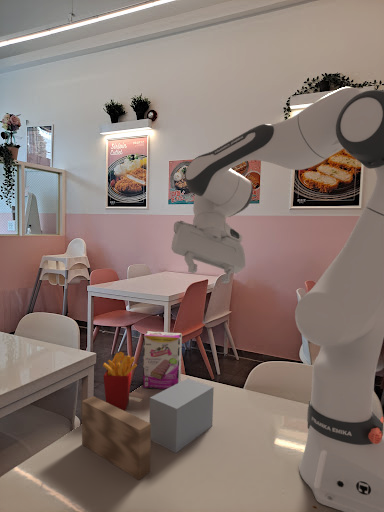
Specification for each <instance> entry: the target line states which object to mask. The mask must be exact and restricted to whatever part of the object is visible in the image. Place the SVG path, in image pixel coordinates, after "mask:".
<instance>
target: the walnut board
mask: <svg viewBox="0 0 384 512" xmlns="http://www.w3.org/2000/svg"><path fill="white" fill-rule="evenodd" d="M81 417H82V418H81V441H82V442H81V443H82V445H83V446H84V447H85V448H87V449H89V450H90V451H91V452H93V453H95V454H97V455H99V456H100V457H101V458H103V459H105V460H106V461H108V462H109V463H111V464H112V465H114V466H116V467H118V468H119V469H121V470H122V471H124V472H125V473H127V474H128V475H130V476H132V477H134V478H135V479H137V480H138V481H140V480H141V479H142V478H144V477H145V476H147V475H148V474H149V473H151V443H152V442H151V441H152V440H151V423H150V422H148V421H146V420H144V419H142V418H140V417H139V416H138V417H137V416H136V415H134V414H132V413H129V412H128V411H126V410H125V411H123V410H121V409H119V408H117V407H115V406H113V405H111V404H109V403H107V402H106V400H102V399H100V398H98V397H97V396H94V395H92V396H91V397H88V398H86V399H83V400H81Z"/></svg>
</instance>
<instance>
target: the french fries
mask: <svg viewBox="0 0 384 512" xmlns="http://www.w3.org/2000/svg"><path fill="white" fill-rule="evenodd" d="M135 360H136V358H135V357H134V356H131V355H125V353H124V352H123V351H119V352H116V353H115V355H114V357H113V359H112V360H110V359H108V360H107V362H108V363H106V362H103V365H102V367H103V368H104V369H106V371H105V372H104V374H103V383H104V384H103V387H104V395H105V397H104V398H105V402H107V403H109V404H111V405H113V406H115V407H117V408H119V409H121V410H123V411H126V410H127V408H128V406H129V401H130V400H129V399H130V392H131V382H132V371H133V370H134V369H135V368H136V367H137V366H138V365H137V364H136V363H134V362H135Z"/></svg>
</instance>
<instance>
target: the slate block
mask: <svg viewBox="0 0 384 512" xmlns="http://www.w3.org/2000/svg"><path fill="white" fill-rule="evenodd" d="M214 389H215V388H214V386H211V385H208V384H205V383H203V382H200V381H197V380H194V379H191V378H185V379H184V380H181V381H180V382H179V383H177V384H176V385H174V386H172V387H170V388H168V389H163V390H162V391H160V392H157V393H156V394H154V395H152V396H150V397H149V423H151V441H152V442H154V443H156V444H158V445H159V446H162V447H163V448H166V449H167V450H170V451H172V452H173V453H175V454H176V453H178V452H179V451H180V450H182V449H183V448H184V447H186V446H187V445H189V444H190V443H191V442H193V441H194V440H196V439H197V438H198V437H199V436H201V435H202V434H203V433H204V432H206V431H208V430H209V429H210V428H211V427H213V422H214V421H213V414H214Z"/></svg>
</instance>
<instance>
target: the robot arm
mask: <svg viewBox="0 0 384 512" xmlns="http://www.w3.org/2000/svg"><path fill="white" fill-rule="evenodd" d="M343 150H345V152H347V153H348V154H349V155H350V156H351V157H353V158H354V159H356V160H357V161H358V162H359V163H360V164H361V165H363V166H364V167H365V168H367V169H374V171H375V173H376V181H375V183H374V185H375V186H374V187H373V189H372V192H371V194H370V196H369V198H368V199H367V202H366V204H365V206H364V208H363V209H362V212H360V213H361V214H360V215H359V217H358V218H357V221H356V223H355V225H354V227H353V229H352V231H351V233H350V235H349V237H348V238H347V240H346V241H345V244H344V246H343V247H342V248H341V250H340V251H339V253H338V254H337V256H336V257H335V258H334V259H333V261H332V262H331V263H330V264H329V265H328V267H327V268H326V269H325V270H324V272H323V273H322V275H321V276H320V278H319V279H318V281H316V283H315V284H314V285H313V287H312V288H311V289H310V290H309V291H307V292H306V294H304V296H302V297H301V298H300V300H299V301H298V302H297V305H296V307H295V313H294V320H295V323H296V327H297V329H298V331H299V332H300V334H301V335H302V337H303V338H305V339H306V340H307V341H308V342H309V343H311V344H313V345H315V346H319V347H321V348H320V349H319V352H318V354H317V355H316V358H315V360H314V362H313V365H312V377H311V378H312V379H311V394H310V395H311V397H310V398H311V399H310V400H309V401H308V407H307V416H306V418H307V419H306V421H307V430H308V433H307V436H306V437H307V438H306V442H305V447H304V451H303V454H302V457H301V459H300V462H299V466H298V470H299V475H300V477H301V478H302V479H303V481H304V482H305V483H306V485H308V487H310V489H311V490H312V493H313V495H314V497H315V500H316V501H317V502H318V503H319V504H321V505H323V506H327V507H330V508H332V509H335V510H338V511H340V512H384V417H383V416H381V417H380V419H379V418H378V416H377V415H375V413H374V412H373V406H374V405H373V403H374V402H373V401H374V391H375V389H374V388H375V378H376V371H377V367H378V362H379V357H380V355H381V350H382V348H383V347H382V346H383V342H384V90H383V89H382V90H381V89H380V90H379V89H371V90H366V91H361V90H359V89H357V88H355V87H352V86H345V87H341V88H339V89H337V90H334V91H333V92H330V93H328V94H326V95H325V96H323V97H321V98H320V99H318V100H316V101H314V102H313V103H312V104H310V105H308V106H307V107H306V108H304V109H302V110H301V111H300V112H298V113H297V114H296V115H294V116H292V117H290V118H287V119H285V120H282V121H279V122H276V123H275V122H274V123H263V124H259V125H256V126H254V127H253V128H251V129H249V130H247V131H245V132H243V133H241V134H240V135H238V136H236V137H235V138H232V139H231V140H229V141H227V142H226V143H224V144H223V145H221V146H218V147H217V148H216V149H214V150H212V151H208V152H206V153H203V154H201V155H199V156H197V157H195V158H193V160H192V161H191V162H190V163H189V164H188V166H187V168H186V169H185V173H184V180H185V184H186V187H187V189H188V191H189V193H192V194H193V195H194V196H193V197H194V198H193V199H194V200H193V207H192V209H193V215H194V217H193V220H192V224H191V223H188V222H185V221H183V220H179V221H176V222H174V224H173V233H174V234H173V237H172V241H171V242H172V243H171V247H170V249H171V251H172V252H173V253H174V254H176V255H179V256H181V257H184V261H185V263H186V265H187V267H188V268H187V270H188V273H191V274H196V273H197V271H198V264H197V263H195V261H197V262H200V263H202V264H206V265H208V266H209V265H210V266H211V267H215V268H218V269H221V270H223V272H224V274H223V275H222V276H220V279H221V281H220V282H221V283H223V284H225V285H226V284H228V283H230V281H231V275H232V274H233V273H234V274H238V273H239V272H241V271H242V270H243V269H245V266H246V255H245V254H246V253H245V248H244V246H243V245H242V243H241V242H242V241H243V236H242V234H241V233H239V232H238V231H236V230H235V228H232V226H230V224H228V223H227V222H226V219H227V218H231V217H233V216H235V215H237V214H238V213H239V214H240V212H243V211H245V209H246V208H248V207H249V205H250V204H251V201H252V197H253V191H254V187H253V184H252V181H251V180H249V179H248V178H246V177H245V176H243V175H242V174H240V173H239V172H237V171H235V170H233V168H235V167H237V166H239V165H241V164H243V163H244V162H249V161H259V162H260V161H261V162H266V163H270V164H273V165H276V166H280V167H282V168H285V169H289V170H295V171H301V170H306V169H309V168H312V167H314V166H316V165H318V164H320V163H322V162H324V161H325V160H327V159H328V158H330V157H331V156H334V155H335V154H337V153H338V152H340V151H343ZM194 260H195V261H194Z"/></svg>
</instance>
